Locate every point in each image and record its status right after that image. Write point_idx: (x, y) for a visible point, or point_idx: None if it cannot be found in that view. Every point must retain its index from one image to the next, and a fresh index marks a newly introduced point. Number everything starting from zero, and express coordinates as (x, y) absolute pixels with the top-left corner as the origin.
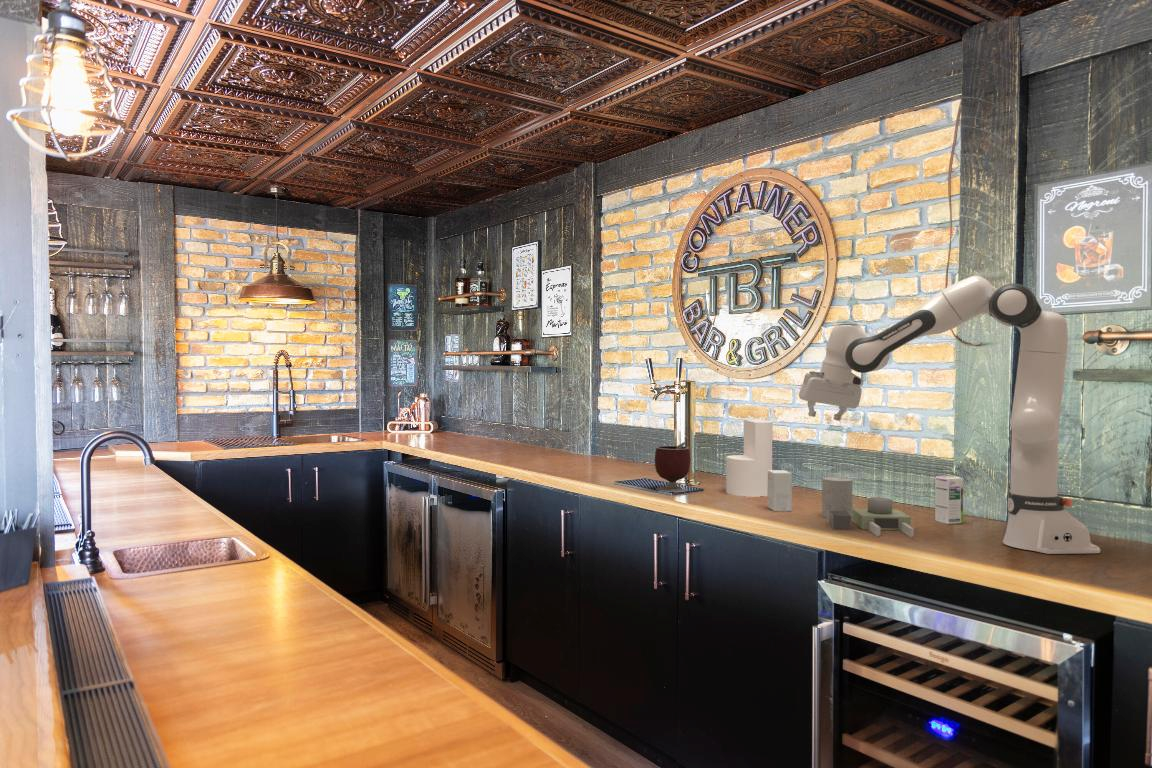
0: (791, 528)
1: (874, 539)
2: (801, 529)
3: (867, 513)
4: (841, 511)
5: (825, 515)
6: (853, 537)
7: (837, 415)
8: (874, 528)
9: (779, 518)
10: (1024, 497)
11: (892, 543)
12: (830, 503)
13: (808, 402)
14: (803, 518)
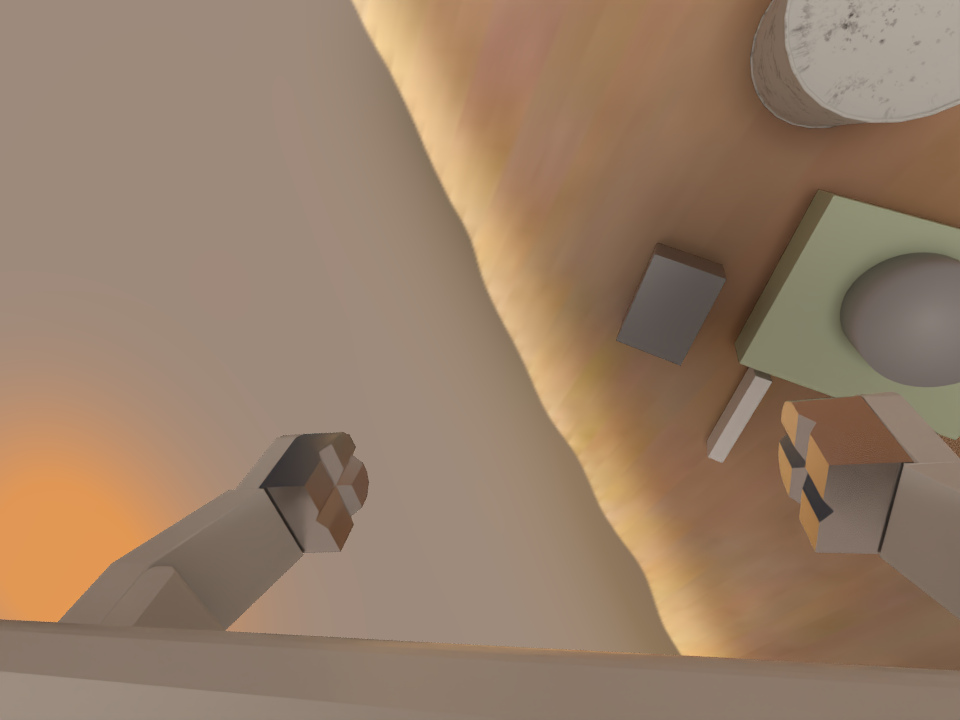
0: (487, 278)
1: (666, 472)
2: (513, 299)
3: (811, 322)
4: (700, 280)
5: (753, 66)
6: (617, 434)
7: (809, 534)
8: (717, 435)
9: (517, 84)
10: None
11: (685, 523)
12: (771, 91)
13: (99, 609)
14: (622, 93)
